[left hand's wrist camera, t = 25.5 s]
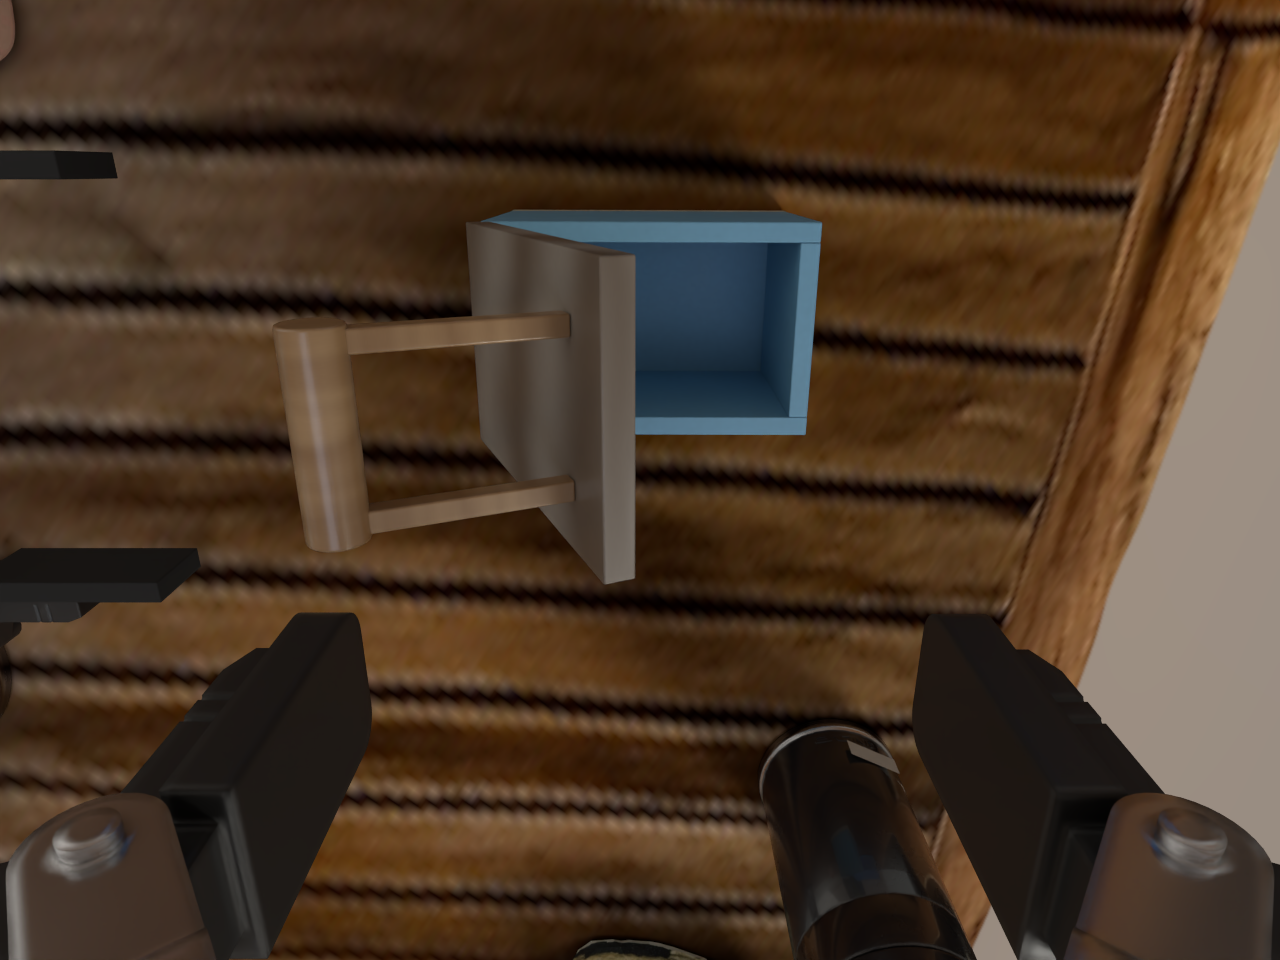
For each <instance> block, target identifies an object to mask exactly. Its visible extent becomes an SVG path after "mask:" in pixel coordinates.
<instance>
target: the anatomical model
mask: <svg viewBox="0 0 1280 960" xmlns="http://www.w3.org/2000/svg"><path fill="white" fill-rule="evenodd" d="M14 40H15V21H14V13H13V6H12V2H11V0H0V61H1V60H2V59H3V58H4V57H6V56H7V55H8V53H9V52H10V51H11V49H12V47H13V44H14Z"/></svg>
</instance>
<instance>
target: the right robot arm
mask: <svg viewBox="0 0 1280 960" xmlns="http://www.w3.org/2000/svg"><path fill="white" fill-rule="evenodd" d="M105 178H117V173H116V168H115V164H114V159H113V154H112V153H110V152H79V151H0V179H105ZM200 567H201V565H200V561H199V556H198V551H197V548H21V549H19V550H18V551H16V552H14V553H13V554H11V555H10V556H8V557H6V558H5V559H3V560H1V561H0V718H1V716H2V715H3V713H4V711H5V709H6V707H7V704H8V701H9V698H10V692H11V670H10V665H9V660H8V657H7V654H6V651H5V649H4V646H3V645H5V644H6V643H8V642H9V641H10V640H11V639H13V638H14V637H15V636H17V635H18V634H19V633H20V631H21V623H20V622H41V621H42V622H70V621H73V620H75V619H78V618H81V617H82V616H83V615H85V614H86V613H87V612H88V611H90V610H91V609H92V608H93V607H95V606H96V605H97V604H98V603H100V602H162V601H163V600H164V599H165V598H166V597H167V596H169V595H170V594H171V593H172V592H173V591H174V590H175V589H176V588H177V587H179V586H180V585H181V584H182V583H183V582H184V581H185V580H186V579H187V578H188V577H190V576H191V575H192V574H193V573H194V572H195V571H196V570H197V569H198V568H200Z"/></svg>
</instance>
